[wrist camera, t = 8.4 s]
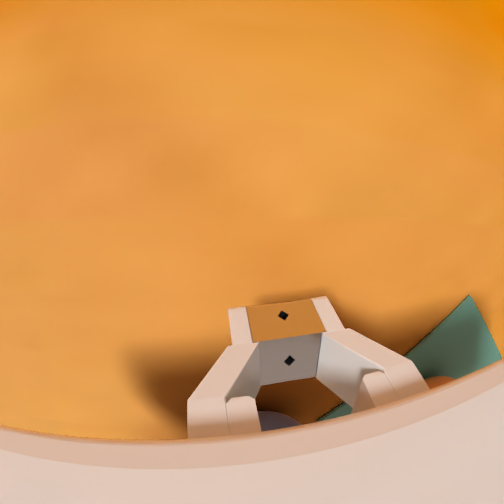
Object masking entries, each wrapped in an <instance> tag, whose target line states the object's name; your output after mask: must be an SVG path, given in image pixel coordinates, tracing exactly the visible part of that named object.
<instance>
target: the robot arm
mask: <svg viewBox="0 0 504 504" xmlns="http://www.w3.org/2000/svg"><path fill="white" fill-rule="evenodd" d="M228 315H229V324H230V333H231V342H232V345H231V346H227V348H226V349H225V350H224V352H223V353H222V354H221V356H220V357H219V358H218V360H217V361H216V363H215V364H214V365H213V367H212V368H211V369H210V371H209V372H208V373H207V375H206V376H205V377H204V379H203V380H202V381H201V383H200V384H199V385H198V387H197V388H196V389H195V391H194V392H193V393H192V395H191V396H190V397H189V399H188V400H187V431H188V439H167V440H127V439H103V438H88V437H77V436H67V435H58V434H50V433H43V432H36V431H30V430H24V429H18V428H13V427H8V426H3V425H0V504H504V358H502V359H500V360H498V361H496V362H494V363H492V364H490V365H488V366H486V367H483V368H481V369H479V370H477V371H475V372H472V373H470V374H468V375H465V376H463V377H461V378H458V379H456V380H453V381H451V382H448V383H446V384H443V385H441V386H438V387H435V388H433V389H429V387H428V385H427V384H426V382H425V381H424V379H423V377H422V376H421V374H420V373H419V371H418V370H417V368H416V366H415V365H414V363H413V362H412V361H411V360H409V359H407V358H405V357H403V356H401V355H400V354H398V353H396V352H394V351H392V350H390V349H388V348H386V347H384V346H382V345H380V344H379V343H377V342H375V341H373V340H371V339H369V338H367V337H365V336H363V335H361V334H360V333H358V332H356V331H354V330H352V329H350V328H347V329H345V328H344V326H343V324H342V323H341V321H340V319H339V317H338V315H337V314H336V312H335V310H334V308H333V306H332V305H331V303H330V301H329V299H328V298H327V297H326V296H321V297H315V298H310V299H305V300H298V301H291V302H283V303H273V304H263V305H253V306H243V307H233V308H228ZM311 377H316V379H318V380H319V381H320V382H321V383H322V384H324V385H325V386H326V387H327V388H329V389H330V390H331V391H332V392H333V393H335V394H336V395H337V396H338V397H340V398H341V399H342V400H343V401H345V402H346V403H347V404H348V405H350V406H351V407H352V408H353V409H352V412H351V414H349V415H345V416H341V417H337V418H333V419H328V420H324V421H319V422H314V423H309V424H304V425H299V426H294V427H288V428H282V429H276V430H269V431H261V427H260V422H259V417H258V412H257V407H256V402H255V398H256V396H257V394H258V392H259V390H260V388H261V386H262V385H268V384H274V383H279V382H285V381H291V380H298V379H305V378H311Z"/></svg>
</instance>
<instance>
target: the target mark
mask: <svg viewBox="0 0 504 504" xmlns="http://www.w3.org/2000/svg"><path fill="white" fill-rule="evenodd" d="M403 357H405V358H407V359H409V360H411V361H412V362H413V363H414V365H415V366H416V368H417V370H418V371H419V373H420V374H421V376H422V377H423V379H427V378H430V377H434V376H447V377H451V378H454V379H458V378H461V377H463V376H465V375H468V374H470V373H472V372H475V371H477V370H479V369H481V368H483V367H486V366H488V365H490V364H492V363H494V362H496V361H498V360H500V359H502V357H501V355H500V353H499V351H498V349H497V346H496V344H495V342H494V340H493V338H492V336H491V334H490V332H489V330H488V328H487V326H486V324H485V322H484V320H483V318H482V316H481V314H480V312H479V310H478V308H477V307H476V305H475V303H474V301H473V299H472V297H471V296H470V295H468V296H467V298H466V299H465V300H464V301H463V302H462V303H461V304H460V305H459V306H458V307H457V308H456V309H455V310H454V311H453V312H452V313H451V314H450V315H449V316H448V317H447V318H446V319H445V320H443V321H442V322H441V323H440V324H439V325H438V326H437V327H436V328H435V329H434V330H433V331H432V332H431V333H430V334H429V335H427V336H426V337H425V338H424V339H423V340H422V341H421V342H420V343H419V344H417V345H416V346H415V347H414V348H413V349H412V350H410V351H409V352H408V353H407V354H406V355H405V356H403ZM352 409H353V408H352V407H351V406H350V405H348V404H347V403H346V402H344V403H342V404H341V405H339V406H338V407H336V408H335V409H333V410H332V411H331V412H329V413H328V414H326V415H325V416H323V417H321V418H320V419H318V420H317V422H319V421H324V420H328V419H333V418H337V417H341V416H345V415H349V414H351V412H352Z"/></svg>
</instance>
